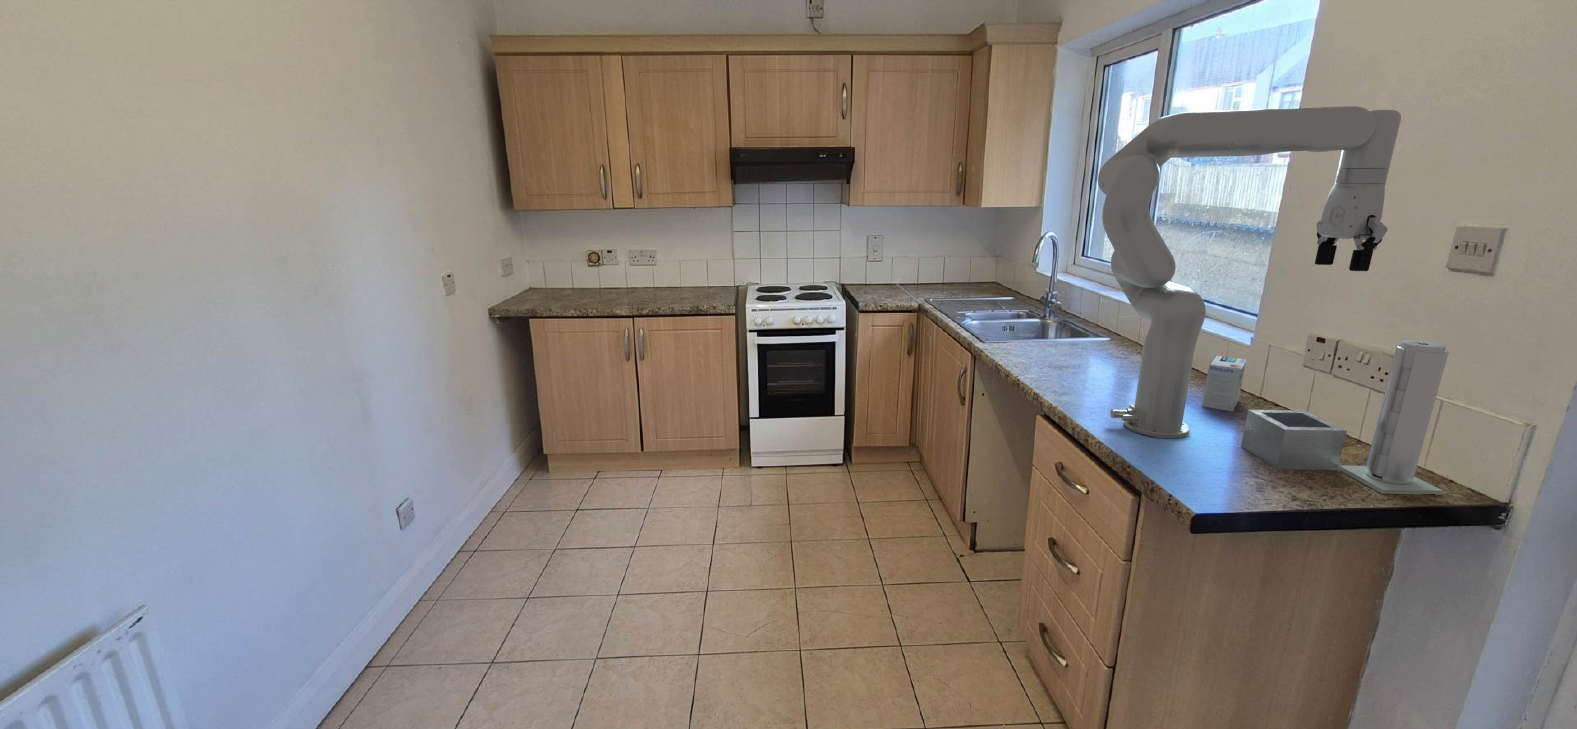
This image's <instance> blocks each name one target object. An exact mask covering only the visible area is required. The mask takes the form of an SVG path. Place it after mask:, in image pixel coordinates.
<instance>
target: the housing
mask: <svg viewBox="0 0 1577 729" xmlns="http://www.w3.org/2000/svg"><path fill="white" fill-rule="evenodd" d="M1347 432H1348V430H1346V429H1345V428H1342V427H1340V426H1338V425H1336V424H1334V423H1332V422H1329V421H1327V420H1326V419H1323V418H1321V417H1319V416H1317V415H1316V414H1313V413H1311V412H1309V411H1307V410H1296V409H1295V410H1293V409H1292V410H1289V409H1288V410H1287V409H1286V410H1285V409H1247V414H1246V419H1245V424H1244V430H1243V435H1242V439H1241V444H1240V447H1241V448H1243V450H1246V451H1247V452H1248V453H1250V454H1252V455H1254V456H1255V457H1257V458H1259V459H1260V460H1262V461H1263V462H1265V463H1266V464H1268V465H1269V466H1271V467H1272V468H1274V469H1275V470H1297V471H1299V470H1302V471H1306V470H1307V471H1339V470H1338V468H1339V465H1340V461H1341V457H1342V452H1343V449H1344V445H1345V440H1346V436H1347Z"/></svg>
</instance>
